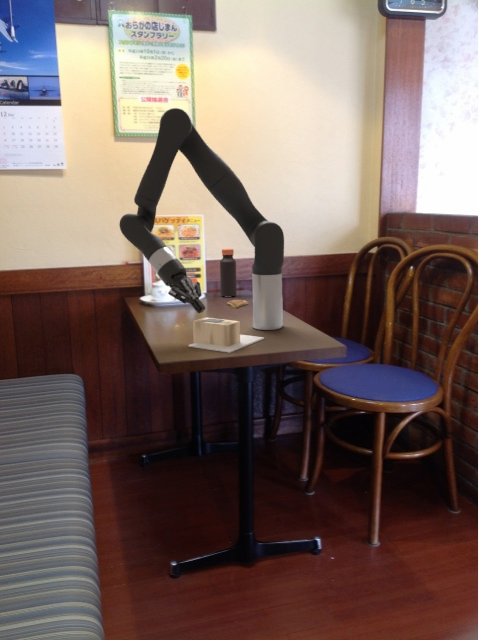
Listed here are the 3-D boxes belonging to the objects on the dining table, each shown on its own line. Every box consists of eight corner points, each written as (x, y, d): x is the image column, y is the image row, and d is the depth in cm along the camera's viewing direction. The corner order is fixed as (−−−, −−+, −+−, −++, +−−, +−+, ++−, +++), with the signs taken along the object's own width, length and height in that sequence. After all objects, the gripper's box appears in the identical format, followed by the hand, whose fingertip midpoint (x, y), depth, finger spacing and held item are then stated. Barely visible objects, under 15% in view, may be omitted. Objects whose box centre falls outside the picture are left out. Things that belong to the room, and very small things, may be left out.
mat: (224, 333, 174) (224, 332, 174) (264, 338, 166) (264, 337, 166) (188, 346, 159) (188, 345, 159) (229, 352, 151) (229, 351, 151)
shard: (235, 309, 215) (235, 305, 215) (218, 308, 219) (218, 303, 219) (249, 305, 225) (249, 300, 224) (232, 303, 228) (232, 299, 228)
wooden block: (205, 316, 166) (239, 320, 160) (206, 337, 168) (240, 342, 161) (192, 320, 161) (227, 324, 155) (193, 341, 163) (228, 346, 156)
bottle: (239, 296, 243) (238, 249, 239) (225, 298, 239) (224, 250, 235) (231, 294, 248) (230, 248, 244) (217, 296, 245) (216, 249, 241)
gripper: (159, 259, 159) (195, 306, 155) (188, 255, 170) (223, 299, 166) (145, 277, 163) (181, 323, 159) (175, 272, 174) (208, 315, 170)
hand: (202, 311), depth 163 cm, fingers closed
